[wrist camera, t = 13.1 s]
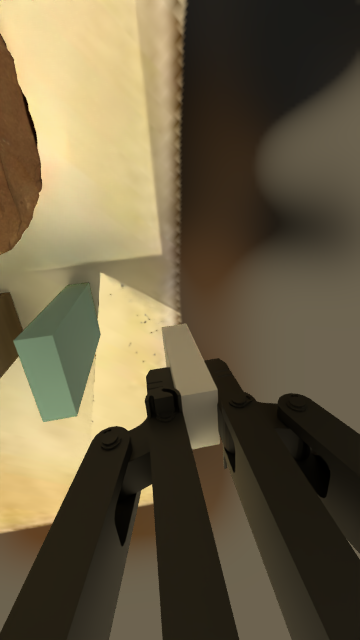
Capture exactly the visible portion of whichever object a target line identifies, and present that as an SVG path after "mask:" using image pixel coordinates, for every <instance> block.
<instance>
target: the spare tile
mask: <svg viewBox="0 0 360 640" xmlns="http://www.w3.org/2000/svg"><path fill="white" fill-rule="evenodd" d="M100 335H101V334H100V330H99V325H98V321H97V316H96V312H95V307H94V303H93V298H92V294H91V290H90V285H89V283H81V284H73V285H67V286H66V287H65V288H64V289H63V290H62V291H61V292H60V293H59V294H58V295H57V297H56V298H55V299H54V300H53V301H52V302H51V303H50V304H49V305H48V306H47V307H46V308H45V309H44V310H43V311H42V312H41V313H40V314H39V315H38V316H37V317H36V318H35V319H34V320H33V321H32V322H31V323H30V324H29V325H28V326H27V327H26V328H25V329H24V330H23V331H22V332H21V333H20V334H19V335H18V337H17V338H16V339H15V340H14V344H15V347H16V350H17V352H18V355H19V358H20V360H21V363H22V366H23V369H24V371H25V374H26V377H27V379H28V382H29V385H30V388H31V390H32V393H33V396H34V398H35V401H36V404H37V407H38V409H39V412H40V415H41V418H42V420H43V422H46V421H52V420H58V419H63V418H69V417H75V416H77V414H78V411H79V407H80V404H81V400H82V397H83V393H84V390H85V386H86V383H87V380H88V376H89V373H90V369H91V366H92V362H93V359H94V355H95V352H96V348H97V345H98V342H99V338H100Z"/></svg>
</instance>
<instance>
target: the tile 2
mask: <svg viewBox="0 0 360 640" xmlns="http://www.w3.org/2000/svg"><path fill="white" fill-rule="evenodd" d="M22 331H23V330H22V327H21V324H20V321H19V318H18V315H17V312H16V309H15V307H14V304H13V301H12V298H11V295H10V292H9V293H1V294H0V378H1V377H2V376H3V374H4V373H5V372H6V371H7V370H8V368H9V367H10V366H11V365H12V364H13V362H14V361H15V360H16V359H17V358H18V356H19V355H18V352H17V350H16V347H15V344H14V340H15V339H16V338H17V337H18V335H19V334H20V333H21V332H22Z"/></svg>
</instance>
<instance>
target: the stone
mask: <svg viewBox="0 0 360 640" xmlns="http://www.w3.org/2000/svg"><path fill="white" fill-rule="evenodd" d="M41 189H42V179H41V163H40V158H39V154H38V149H37V136H36V131H35V128H34V123H33V120H32V117H31V115H30V112H29V110H28V103H27V100H26V97H25V96H24V94H23V93H22V90H21V88H20V86H19V84H18V81H17V74H16V70H15V65H14V59H13V57H12V56H11V54H10V52H9V51H8V49H7V46H6V43H5V41H4V39H3V37H2V36H1V34H0V255H1V254H3V253H6V252H8V251H9V250H11V249H12V248H13V247H14V246H15V245H16V244H17V242H18V241H19V240H20V239H21V237H22V234H23V232H24V231H25V230H26V229H27V228H28V226H29V224H30V222H31V220H32V218H33V211H34V208H35V206H36V204H37V201H38V198H39V192H40V191H41Z"/></svg>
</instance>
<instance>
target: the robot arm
mask: <svg viewBox="0 0 360 640" xmlns="http://www.w3.org/2000/svg"><path fill="white" fill-rule="evenodd" d="M162 334H163V342H164V350H165V358H166V366H167V367H166V368H160V369H154V370H150V371H149V373H148V374H147V376H146V381H147V396H146V398H145V405H146V410H147V418H146V420H145V421H144V422H143V423H142V424H141V425H140V426H138V427H136V428H134V429H132V430H130V431H128V430H126V429H125V428H123V427H118V426H115V427H109V428H107V429H104V430H102V431H101V432H100V433H98V434H97V435H96V436H95V438H94V439H93V440H92V442H91V444H90V446H89V448H88V450H87V453H86V455H85V457H84V459H83V461H82V463H81V465H80V467H79V469H78V471H77V474H76V476H75V478H74V480H73V482H72V484H71V486H70V488H69V490H68V492H67V494H66V497H65V499H64V501H63V503H62V505H61V507H60V509H59V511H58V513H57V515H56V517H55V520H54V522H53V524H52V526H51V528H50V530H49V532H48V534H47V537H46V538H45V541H44V543H43V545H42V547H41V549H40V551H39V553H38V555H37V558H36V559H35V561H34V563H33V566H32V568H31V570H30V572H29V574H28V576H27V578H26V580H25V583H24V584H23V586H22V589H21V591H20V593H19V595H18V597H17V599H16V601H15V603H14V605H13V607H12V610H11V612H10V614H9V616H8V618H7V620H6V622H5V624H4V626H3V628H2V631H1V632H0V640H109V636H110V632H111V627H112V622H113V618H114V613H115V609H116V604H117V599H118V595H119V590H120V586H121V581H122V576H123V572H124V568H125V563H126V558H127V553H128V549H129V545H130V540H131V535H132V531H133V526H134V521H135V517H136V512H137V508H138V503H139V499H140V494H141V490H142V489H144V488H146V487H148V486H149V485H151V484H152V487H153V502H154V517H155V532H156V546H157V561H158V576H159V591H160V606H161V619H162V620H161V621H162V636H163V640H239V637H238V633H237V629H236V625H235V621H234V617H233V613H232V609H231V605H230V601H229V596H228V592H227V588H226V584H225V580H224V576H223V572H222V568H221V564H220V560H219V557H218V552H217V548H216V544H215V540H214V536H213V532H212V528H211V524H210V520H209V516H208V512H207V508H206V504H205V500H204V496H203V492H202V488H201V484H200V480H199V476H198V472H197V468H196V463H195V460H194V456H193V451H192V449H196V448H201V447H206V446H211V445H216V444H220V437H221V440H222V442H223V460H224V468H225V469H226V468H227V465H228V467H229V470H230V473H231V476H232V478H233V481H234V484H235V487H236V489H237V492H238V495H239V497H240V500H241V503H242V506H243V508H244V511H245V514H246V516H247V519H248V522H249V524H250V527H251V530H252V533H253V535H254V538H255V541H256V543H257V546H258V549H259V552H260V554H261V557H262V560H263V563H264V565H265V568H266V570H267V573H268V576H269V579H270V582H271V584H272V587H273V590H274V592H275V595H276V598H277V601H278V603H279V606H280V609H281V611H282V614H283V617H284V620H285V622H286V625H287V628H288V630H289V633H290V636H291V638H292V640H360V559H359V558H358V556H357V555H356V553H355V552H354V550H353V549H352V547H351V545H350V544H349V542H350V543H351V544H352V545H353V547H354V548H355V549H356V550H357V551H358V552H359V553H360V434H358V433H357V432H356V431H354V430H353V429H352V428H350V427H349V426H347V425H346V424H345V423H343V422H342V421H340V420H339V419H338V418H336V417H335V416H333V415H332V414H331V413H329V412H328V411H326V410H325V409H324V408H322V407H321V406H319V405H318V404H316V403H315V402H314V401H312V400H311V399H309V398H307V397H305V396H303V395H300V394H292V393H290V394H285V395H283V396H281V397H280V398H279V400H278V404H273V403H261V402H257V401H256V400H255V399H254V398H253V397H252V396H251V395H250V394H248V393H246V392H243V390H242V389H241V387H240V385H239V384H238V382H237V380H236V379H235V378H234V376H233V375H232V372H231V371H230V370H229V368H228V366H227V364H226V363H225V362H223V361H222V360H220V359H219V358H218V359H211V360H205V361H204V360H203V358H202V356H201V354H200V352H199V350H198V347H197V345H196V343H195V341H194V339H193V337H192V335H191V333H190V331H189V328H188V326H187V325H186V324H181V325H174V326H167V327H162ZM219 435H220V436H219ZM347 540H348V541H349V542H348V541H347Z"/></svg>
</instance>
